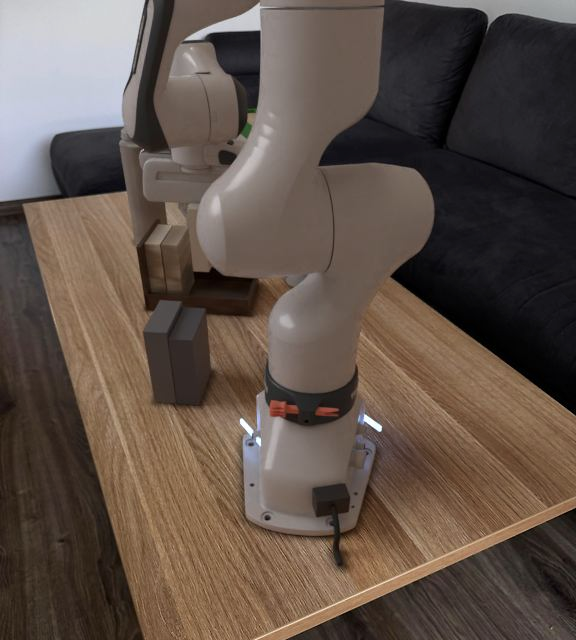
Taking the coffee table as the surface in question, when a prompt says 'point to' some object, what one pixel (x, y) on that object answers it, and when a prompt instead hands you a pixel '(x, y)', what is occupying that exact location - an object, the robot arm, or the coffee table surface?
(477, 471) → the coffee table surface
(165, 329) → the grey books
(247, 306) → the dark wooden book rack
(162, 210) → the thermos bottle
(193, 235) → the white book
